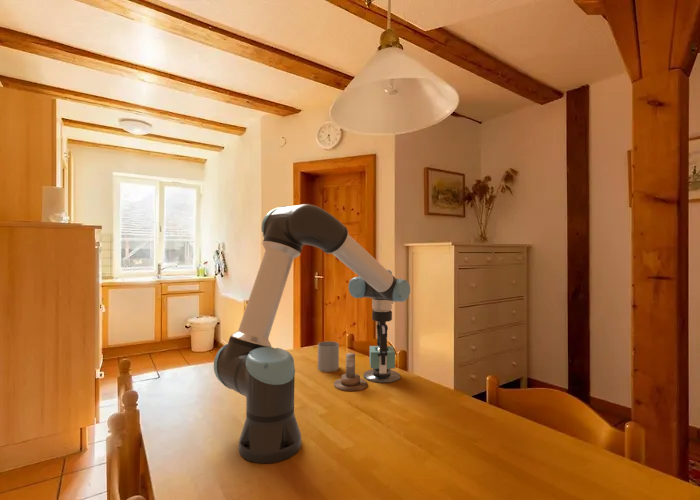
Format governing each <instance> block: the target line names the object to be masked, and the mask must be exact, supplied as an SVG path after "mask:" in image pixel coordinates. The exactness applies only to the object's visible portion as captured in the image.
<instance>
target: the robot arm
mask: <svg viewBox="0 0 700 500" xmlns="http://www.w3.org/2000/svg"><path fill="white" fill-rule="evenodd" d="M261 232H262V237H263V241H262V243H261V244H262V246H263V247H264V250H265V251H264V254H263V257H262V258H261V259H262V260H261V262H260V265H259V269H258V271H257V274H256V278H255V280H254V283H253V287H252V289H251V292H250V293H249V294H250V295H249V297H248V301H247V303H246V306H245V309H244V312H243V314H242V315H243V316H242V318H241V320H240V321H241V322H240V323H239V328H238V330H236V331H235V332H234V333H231V334H230V336H229V340H228V341H227V343H226V344H224V345H223V346H221V348H219V349H218V351H217V352H216V354H215V357H214V360H213V371H214V374H215V377H216V379H217V380H218V381H219V382H220V384H222V385H223V386H224V387H226V388H228V389H229V390H233V391H234V392H236V393H238V394H240V395H242V396H244V397H245V398H246V399H245V400H246V401H245V402H246V409H245V410H246V411H245V412H246V414H245V415H246V416H245V417H246V418H245V421H244V424H243V427H242V429H241V430H242V431H241V432H240V436H239V440H238V453H239V455H240V456H241V458H243V459H244V460H247V462H248V461H249V462H252V463H256V464H271V463H279V462H281V461H284V460H287V459H289V458H291V457H293V456H294V455H296V454H297V453H298V452H299V450H300V449H301V446H302V434H301V431H300V427H299V425H298V422H297V417H296V415H295V376H296V375H295V373H296V367H295V360H294V357H293V354H292V353H290V352H289V351H288V350H286V349H283V348H280V347H272V344H271V342H270V340H269V337H270V335H271V331H272V327H273V325H274V323H275V320H276V319H275V318H276V315H277V312H278V309H279V306H280V303H281V300H282V296H283V293H284V291H285V287H286V285H287V281H288V278H289V275H290V270H291V268H292V265H293V262H294V260H295V259H296V258H298V257H300V256H301V253H302V251H303V247H304V246H312V247H314V248H318V249H320V250H321V251H323V253H325V254H331V255H332V256H334V257H335V258H336V259H338V260H339V261H340V262H341V263H342V264H344V266H346V267H347V268H348V269H350V270H351V271H352V272H353V273H354V274H356V275H357V276H354V277H353V278H351V279H350V280H349V282H348V291H349V292H348V293H349V294H350V296H352V297H353V298H355V299H362V298H368V299H371V309H372V311H371V312H372V314H371V315H372V317H371V318H372V321H373V322H376V334H377V335H376V336H377V337H376V338H377V339H376V346H380V354H378V356H379V373H387V355H388V354H387V346H388V324H386V323H387V322H391V321H392V320H393V310H392V309H393V305H394V303H395V302H396V303H397V302H401V303H402V302H403V303H404V302H406V301H407V300H408V299H409V298H410V294H411V285H410V282H409V281H408V280H406V279H403V278H397V277H395V276H394V275H393V272H392V270H391V269H387V268H385V267H384V266H383V265H382V264H381V263H380V262H379V261H378V260H377V259H376V258H374V257H373V255H372V254H370V253H369V251H367V250H366V249H365V248H364V247H363V246H361V244H360V243H358V241H356V240H355V239H354V238H353V237H352V236H351V234H349V229H348V228H347V227H346V226H345V224H343V223H342V222H341V221H340V220H339V219H338V218H336V217H335V216H334V215H333V214H331V213H330V212H328V211H327V210H325V209H323V208H321V207H319V206H317V205H314V204H310V203H302V204H296V205H283V206H278V207H275V208H273V209H271V210H270V211H269V212H267V214H265V216H264V218H262V222H261Z"/></svg>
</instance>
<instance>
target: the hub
mask: <svg viewBox="0 0 700 500" xmlns="http://www.w3.org/2000/svg"><path fill="white" fill-rule="evenodd" d="M378 351H380V347H378ZM363 378H364V380H365V381H366V380H367V381H369V382H371V383H379V384H390V383H395V382H397V381H399V380H400V379H401V374H400V373H399V371H396V370H394V369H387V373H379V369H374V368H371V369H368V370H366V371H364V372H363Z"/></svg>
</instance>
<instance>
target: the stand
mask: <svg viewBox="0 0 700 500" xmlns="http://www.w3.org/2000/svg"><path fill="white" fill-rule="evenodd" d="M333 387H334V388H335V389H337V390H340V391H344V392H359V391H362V390H365V389H366V388H367V387H368V382H367V381H366V379H362V378H361V375H359V374H357V373H356V353H353V352H348V353H346V354H345V373H344V374H342V375H341V376H340V378H339V379H335V381H334V382H333Z"/></svg>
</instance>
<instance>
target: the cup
mask: <svg viewBox="0 0 700 500" xmlns="http://www.w3.org/2000/svg"><path fill="white" fill-rule="evenodd" d="M339 344H340V343H338V342H337V341H322V342H318V343H317V370H318V371H319V370H320V372H322V371H323V372H324V373H331V372H332V371H333V372H337V371H338V370H339V369H338V368H340V367H339V366H340V365H339V364H340V363H339V360H340V359H339V358H340V357H339V356H340V353H339V350H340V349H339V348H340V345H339Z"/></svg>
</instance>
